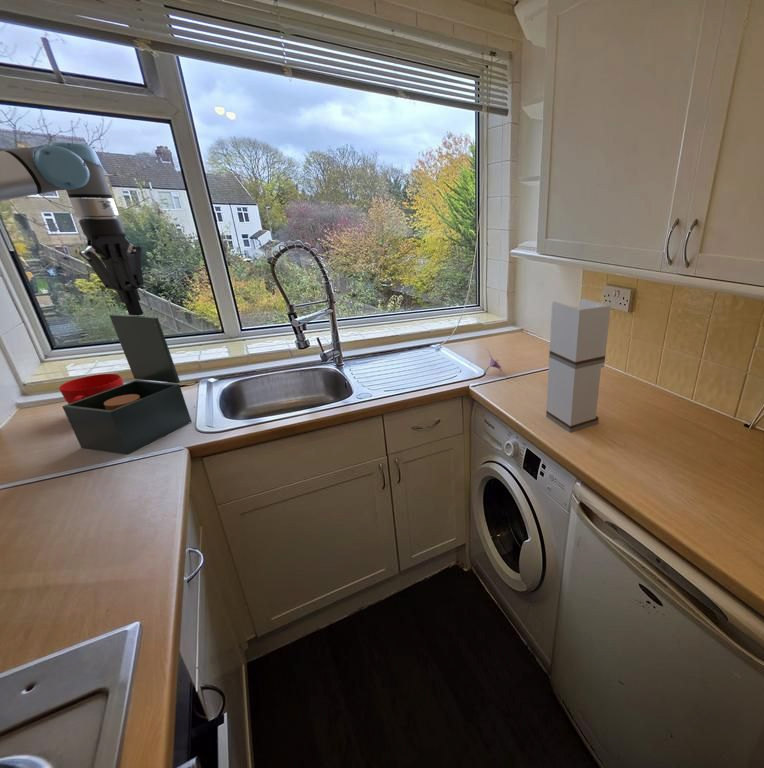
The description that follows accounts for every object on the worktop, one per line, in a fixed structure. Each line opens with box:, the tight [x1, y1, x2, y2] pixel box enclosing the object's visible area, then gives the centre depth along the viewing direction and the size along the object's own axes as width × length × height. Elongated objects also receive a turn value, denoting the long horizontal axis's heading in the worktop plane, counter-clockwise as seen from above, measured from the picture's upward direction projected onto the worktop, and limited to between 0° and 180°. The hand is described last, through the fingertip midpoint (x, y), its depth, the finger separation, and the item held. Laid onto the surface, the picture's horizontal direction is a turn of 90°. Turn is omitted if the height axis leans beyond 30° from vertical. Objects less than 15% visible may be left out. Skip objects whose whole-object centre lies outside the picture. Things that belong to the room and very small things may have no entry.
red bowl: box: [58, 373, 124, 404], centre depth 118 cm, size 13×17×10 cm
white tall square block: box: [545, 298, 612, 433], centre depth 115 cm, size 11×11×35 cm
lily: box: [483, 348, 505, 376], centre depth 154 cm, size 12×12×10 cm
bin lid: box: [109, 313, 181, 384], centre depth 110 cm, size 18×15×1 cm
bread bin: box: [62, 379, 192, 455], centre depth 108 cm, size 18×15×12 cm
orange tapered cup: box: [104, 394, 141, 410], centre depth 107 cm, size 7×7×10 cm
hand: (136, 314), depth 107 cm, fingers closed
